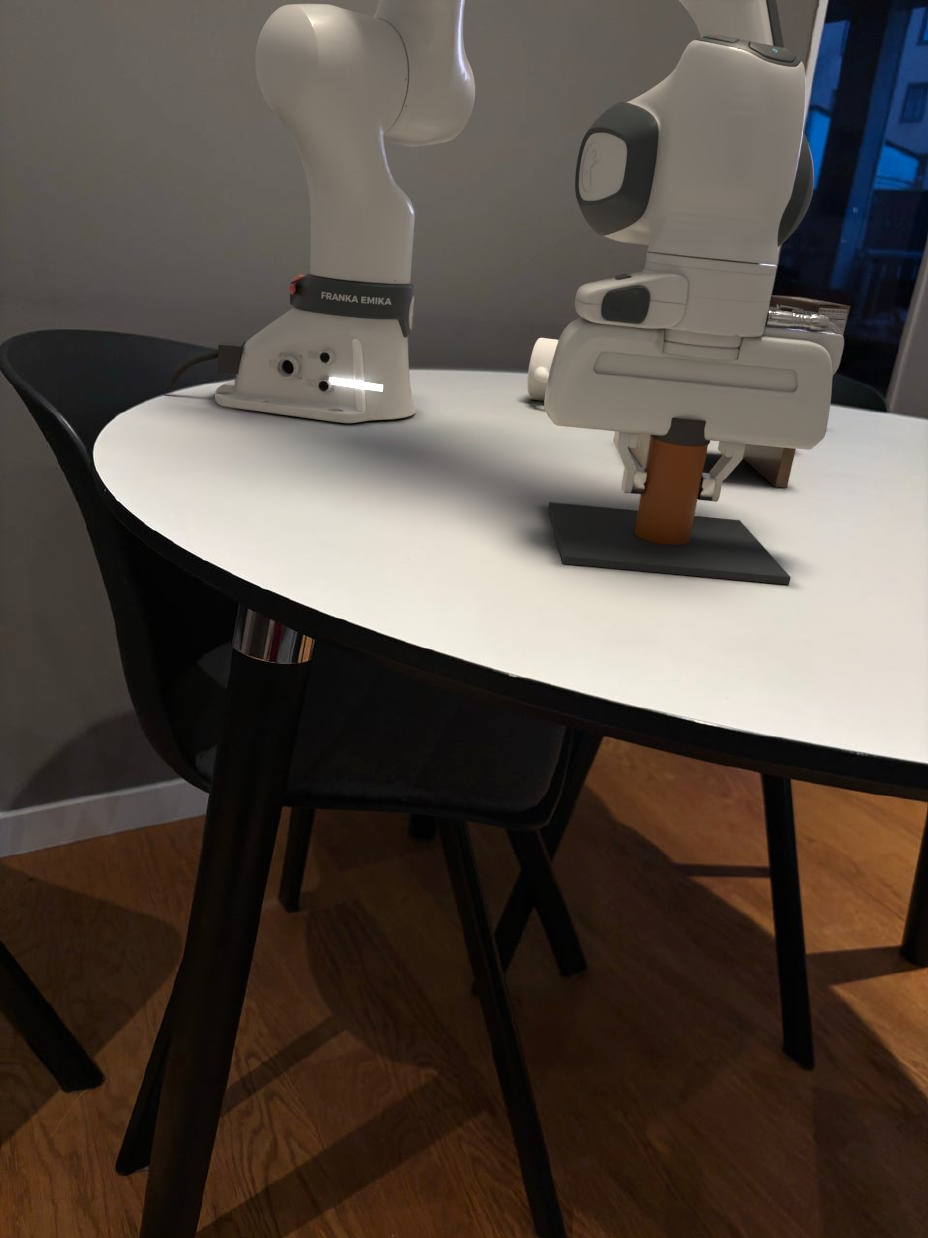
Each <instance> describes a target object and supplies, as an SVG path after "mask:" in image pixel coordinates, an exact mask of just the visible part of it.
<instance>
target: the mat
mask: <svg viewBox="0 0 928 1238" xmlns="http://www.w3.org/2000/svg"><path fill="white" fill-rule="evenodd" d="M547 508H548V513H549V517H550V520H551V525H552V527H553V532H554V535H555V538H556V542H557V546H558V550H559V554H560V556H561V561H562V564H564V565H575V566H585V567H594V568H605V569H616V570H627V571H629V570H630V571H638V572H647V573H648V572H650V573H661V574H669V575H682V576H689V577H690V576H691V577H703V578H712V579H713V578H714V579H723V580H724V579H725V580H734V581H735V580H736V581H743V582H744V581H745V582H756V583H764V584H766V583H767V584H776V585H787V586H789V585H790V583H791V579H792V578H791V576H790V575H789V574H788V573H787V571H786V570H785V568H783V567H782V566H781V564H780V563H778V562H777V560H776V559H775V558H774V557H773V556H772V554H771V553H770V552H769V551H768V550H767V549H766V548H765V547H764V545H763V544H762V543H761V542H760V541H759V540H758V539H757V537H756V536H755V535H753V533H752V532H751V531H750V530H749V529H748V527H747V526H746V525H745V524H744V523H743V522H742V521H741V520H740V519H733V518H721V517H713V516H711V517H710V516H702V515H694V520H693V525H692V531H691V536H690V541H689V542H688V543H686V544H682V545H665V544H658V543H653V542H649V541H646V540H644V539H641V538H639V537H638V536H636V535H635V533H634V530H635V524H636V518H637V513H638V509H629V508H628V509H627V508H618V507H606V506H597V505H595V506H594V505H586V504H576V503H575V504H574V503H565V502H554V501H549V502H548V505H547Z"/></svg>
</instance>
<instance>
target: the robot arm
mask: <svg viewBox="0 0 928 1238" xmlns="http://www.w3.org/2000/svg"><path fill="white" fill-rule="evenodd" d="M678 2H679V3H680V4H681V5H682V6H683V8H685V10H686V11H687V12H688V14H689V16H690V17H691V19H692V21H693V22H694V24H695V25H696V28H697V31H698V33H699V36H700V37H697V38H695V39H693V40H692V41H690V42H689V43H688V44H687V46H686V47H685V48H684V50H683V52H682V54H681V56H680V59H679V61H678V62H677V65H676V66H675V68H674V69H673V70H672V71H671V73H670V74H669V75H668V76H666V77H665V78H664V79H663V80H662V81H660V82H659V83H658V84H656V85H654V86H653V87H652V88H650V89H649V90H647V91H646V92H643V93H642V94H640V95H639V96H637V97H635V98H633V99H630V100H629V101H619V102H615V104H613V105H611V106H610V107H609V108H608V109H606V110H604V112H603V113H602V114H600V115H599V116H598V117H597V118H596V120H594V122H593V123H591V125H590V127H589V128H588V130H587V132H586V133H585V134H584V135H583V139H582V140H581V144H580V147H579V150H578V155H577V160H576V161H577V162H576V166H575V175H574V177H575V178H574V190H575V198H576V201H577V204H578V207H579V210H580V211H581V214H582V216H583V218H584V220H585V221H586V223H587V224H588V226H589V228H591V229H592V230H593V232H594V233H595V234H597V235H598V236H600V237H601V236H602V237H604V238H607V239H610V240H613V241H616V242H620V243H627V244H634V245H644V246H648V247H647V249H646V251H647V252H646V254H645V255H646V256H645V262H644V268H642V270H641V271H638V272H633V273H629V274H628V273H622V274H617V275H616V276H614V277H610V278H604V279H601V280H595V281H591V282H587V283H584V284H582V285H580V287H578V289H577V290H576V294H575V298H574V309H575V312H576V313H577V315H578V316H580V317H578V318H576V319H573V320H572V321H570V323H568V324H567V325H566V326H565V328H564V329H563V330H562V332H561V334H560V336H559V338H558V340H559V341H558V344H557V347H556V350H555V353H554V357H553V360H552V364H551V368H550V372H549V377H548V382H547V387H546V393H545V401H543V404H544V405H543V406H544V412H545V414H546V416H547V417H548V419H550V421H551V422H552V424H554V425H555V426H557V427H566V428H578V429H586V430H598V431H607V432H614V435H613V444H614V446H615V448H616V451H617V454H618V456H619V459H620V460H621V463H622V466H623V474H622V479H621V491H622V492H623V494H630V495H631V494H632V495H641V494H644V491H645V486H644V483H645V482H646V480H647V474H648V473H647V471H646V470H645V468H644V467H642V466H636V464H635V462H634V459H633V457H632V454H631V451H630V449H629V448H628V446H629V447H630V448H636V446H637V441H638V435H639V434H649V435H659V436H663V435H666V434H667V432H668V430H669V429H670V427H671V419H672V418H682V419H692V420H702V421H706V425H705V429H704V433H705V439H706V440H710V442H711V441H712V442H718V446H717V450H718V451H719V452H720V453H721V454H722V455H721V457H720V458H719V459H718V460H717V462H716V463H715V464H714V465H713V467H712V468H711V469H710V471H709V472H703V474H702V479H701V484H700V489H699V494H698V500H697V501H705V502H706V501H707V502H715V503H717V502H719V500H720V497H721V491H722V487H723V482H724V480H726V479H727V478H728V477H729V476H730V475H731V473H732V472H733V471H734V470H735V468H736V467H738V465H739V464H740V463H741V462H742V460H744V459H743V455H744V450H745V446H746V444H753V445H763V446H774V447H784V448H794V449H796V450H805V451H806V450H807V451H808V450H809V451H810V450H813V449H814V448H815V447H816V446H817V445H818V444H819V443H820V442H821V441H823V440H824V438H825V437H826V433H827V429H828V423H829V418H830V410H831V403H832V390H833V378H832V376H833V377H834V375H835V374H836V373H837V371H838V369H839V367H840V365H841V361H842V356H843V351H844V348H845V338H844V333H843V334H842V332H841V330H840V329H839V328H838V327H837V326H836V325H835V324H833V323H831V322H829V318H828V317H826V316H822V315H816V314H810V315H802V314H796V313H792V312H786V311H777V310H768V309H769V303H770V299H771V295H773V294H772V293H773V289H774V285H775V284H774V283H775V280H776V273H777V269H778V264H779V247H780V246H781V245H783V244H784V243H785V242H786V241H787V240H788V239H789V238H790V237H791V236H792V235H793V233H794V232H795V231H796V230H797V228H798V227H799V226H800V224H801V223H802V221H803V219H804V218H805V216H806V213H808V210H809V207H810V204H811V201H812V198H813V194H814V193H813V192H814V186H815V185H814V184H815V169H814V167H815V166H814V159H813V156H812V152H811V148H810V145H809V142H808V138H807V136H806V133H805V130H804V126H805V125H804V124H805V117H806V106H807V105H806V104H807V76H806V68H805V64H804V62H803V61H802V60H801V59H800V58H799V57H798V56H797V55H796V53H795V52H794V51H792V50H790V49H788V48H786V47H785V45H784V40H783V33H782V27H781V21H780V15H779V9H778V3H777V2H778V1H777V0H678ZM465 5H466V0H378V2H377V6H376V11H375V14H374V15H373V16H371V15H367V14H364V13H360V12H357V11H353V10H350V9H347V8H343V7H339V6H337V5H333V4H328V3H327V4H326V3H325V4H324V3H295V4H294V3H293V4H284V5H281V6H279V7H278V8H277V9H276V10H274V11H273V13H271V15H270V16H269V17H268V18H267V20H266V21H265V23H264V25H263V27H262V29H261V31H260V33H259V35H258V38H257V41H256V46H255V54H254V70H255V77H256V81H257V85H258V88H259V91H260V93H261V96H262V97H263V100H264V101H265V103H266V104H267V106H268V107H269V109H271V111H272V112H273V113H274V114H275V116H277V118H278V120H280V122H281V123H282V124H283V126H284V128H285V129H286V130H287V132H288V134H289V136H290V139H291V140H292V142H293V145H294V147H295V148H296V152H297V154H298V157H299V160H300V163H301V166H302V169H303V173H304V176H305V180H306V186H307V191H308V199H309V200H308V201H309V224H310V225H309V226H310V229H309V233H310V234H309V238H310V239H309V240H310V241H309V273H307V274H299V275H297V276H295V277H294V278H292V280H291V282H290V284H289V305H291V306H292V308H290V309H289V310H287V311H286V312H284V313H283V314H281V315H280V316H279V317H277V318H276V319H275V320H273V321H272V322H270V323H269V324H267V325H266V326H264V328H262V329H261V330H259V331H258V332H256V333H255V334H254V335H253V336H252V337H250V338H249V339H248V340H244V339H237V338H223V339H222V340H221V341H220V342H219V344H218V345H217V350H213V351H210V352H206V353H202V354H199V355H198V354H197V355H195V356H193V357H191V358H189V359H187V360H185V361H184V362H182V363H181V364H180V365H178V367H177V368H176V369H175V370H174V371H173V373H172V375H171V376H170V377H169V380H168V382H167V383H166V385H165V386H164V389H166V390H167V391H168V392H170V393H171V392H172V391H173V390H174V388H175V387H176V384H177V383H178V381H179V380H180V378H181V377H182V375H183V374H184V373H185V372H186V371H187V370H189V369H190V368H191V367H193V366H195V365H197V364H200V363H204V362H208V361H212V360H215V359H217V368H218V369H217V372H218V373H220V374H229V375H230V374H231V375H235V379H234V380H231V381H229V382H226V383H223V384H221V385H220V386H218V387H217V388H216V390H215V392H214V394H215V395H214V401H215V403H216V404H218V405H219V406H222V407H227V408H233V409H241V410H247V411H253V412H254V411H255V412H262V413H270V414H276V415H283V416H290V417H298V418H306V419H312V420H319V421H327V422H333V423H334V422H335V423H340V424H341V423H342V424H355V423H356V424H357V423H361V422H367V421H383V420H384V421H386V420H397V419H403V418H407V417H411V416H413V415H414V414H416V408H415V403H414V398H413V391H412V384H411V377H410V363H409V362H410V360H409V359H410V358H409V337H410V335H411V331H412V330H413V323H414V322H413V320H414V307H415V295H414V294H415V293H414V291H415V289H414V285H413V284H412V283H411V279H412V277H411V276H412V263H413V250H414V249H413V248H414V238H415V237H414V236H415V223H416V214H415V209H414V206H413V203H412V200H411V199H410V197H409V196H408V195H407V193H406V192H405V191H403V189H402V188H400V186H399V185H398V183H397V182H396V180H395V179H394V177H393V175H392V171H391V169H390V166H389V163H388V157H387V154H386V147H385V143H388V144H393V145H400V146H404V147H411V148H415V147H423V146H425V147H426V146H432V145H438V144H444V143H448V142H450V141H453V140H454V139H455V138H457V136H459V135H460V133H461V132H462V131H463V130H464V128H465V127H466V125H467V124H468V122H469V120H470V118H471V116H472V112H473V109H474V106H475V105H474V104H475V98H476V83H475V76H474V73H473V69H472V67H471V64H470V62H469V59H468V56H467V54H466V49H465V43H464V41H465V40H464V19H465V18H464V16H465ZM796 328H797V329H806V330H797V329H796ZM828 328H829V329H831V330H832V331H833V332H834V333H827V332H822V331H826V330H827V329H828Z"/></svg>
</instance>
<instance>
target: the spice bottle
mask: <svg viewBox="0 0 928 1238" xmlns="http://www.w3.org/2000/svg"><path fill="white" fill-rule="evenodd" d="M705 425H706V421H702V420H692V419H682V418H672V419H671V427H670V429H669V430H668V432H667V434H666V435H663V436H659V435H650V442H649V448H648V454H647V460H646V466H645V470H646V471H647V473H648V474H647V480H646V482H645V483H644V486H645V491H644V494H639V501H638V502H639V503H638V507H637V510H638V513H637V518H636V524H635V530H634V533H635V535H636V536H638V537H639V538H641V539H644V540H646V541H649V542H653V543H658V544H665V545H682V544H686V543H688V542H689V541H690V536H691V531H692V525H693V520H694V516H696V511H697V506H698V505H697V504H698V501H699V500H698V494H699V489H700V484H701V479H702V474H703V473H704V469H705V463H706V457H707V451H708V447H709V445H710V444H711V440H706V439H705V433H704V429H705Z"/></svg>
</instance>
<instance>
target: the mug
mask: <svg viewBox="0 0 928 1238" xmlns="http://www.w3.org/2000/svg"><path fill="white" fill-rule="evenodd" d="M558 341H559V339H555V338H554V339H553V338H546V337H539V338H538V339H536V341H535V343H534V346H533V348H532V352H531V355H530V359H529V364H528V372H527V394H528V397H529V398H530V400H534V401H535V400H536V401H540V402H541V401H542V402H544V401H545V393H546V387H547V382H548V377H549V372H550V368H551V364H552V360H553V357H554V353H555V350H556V347H557V344H558Z"/></svg>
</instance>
